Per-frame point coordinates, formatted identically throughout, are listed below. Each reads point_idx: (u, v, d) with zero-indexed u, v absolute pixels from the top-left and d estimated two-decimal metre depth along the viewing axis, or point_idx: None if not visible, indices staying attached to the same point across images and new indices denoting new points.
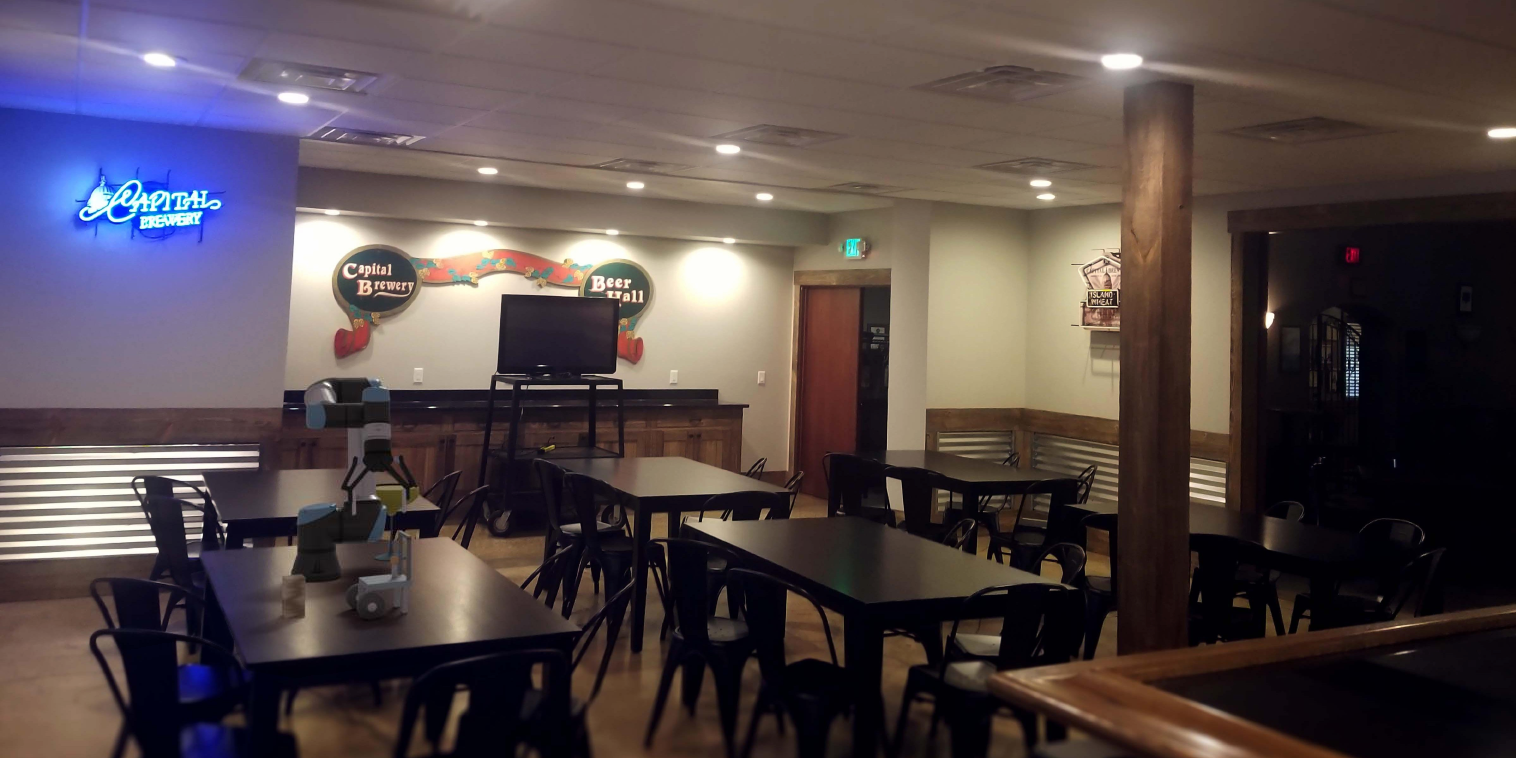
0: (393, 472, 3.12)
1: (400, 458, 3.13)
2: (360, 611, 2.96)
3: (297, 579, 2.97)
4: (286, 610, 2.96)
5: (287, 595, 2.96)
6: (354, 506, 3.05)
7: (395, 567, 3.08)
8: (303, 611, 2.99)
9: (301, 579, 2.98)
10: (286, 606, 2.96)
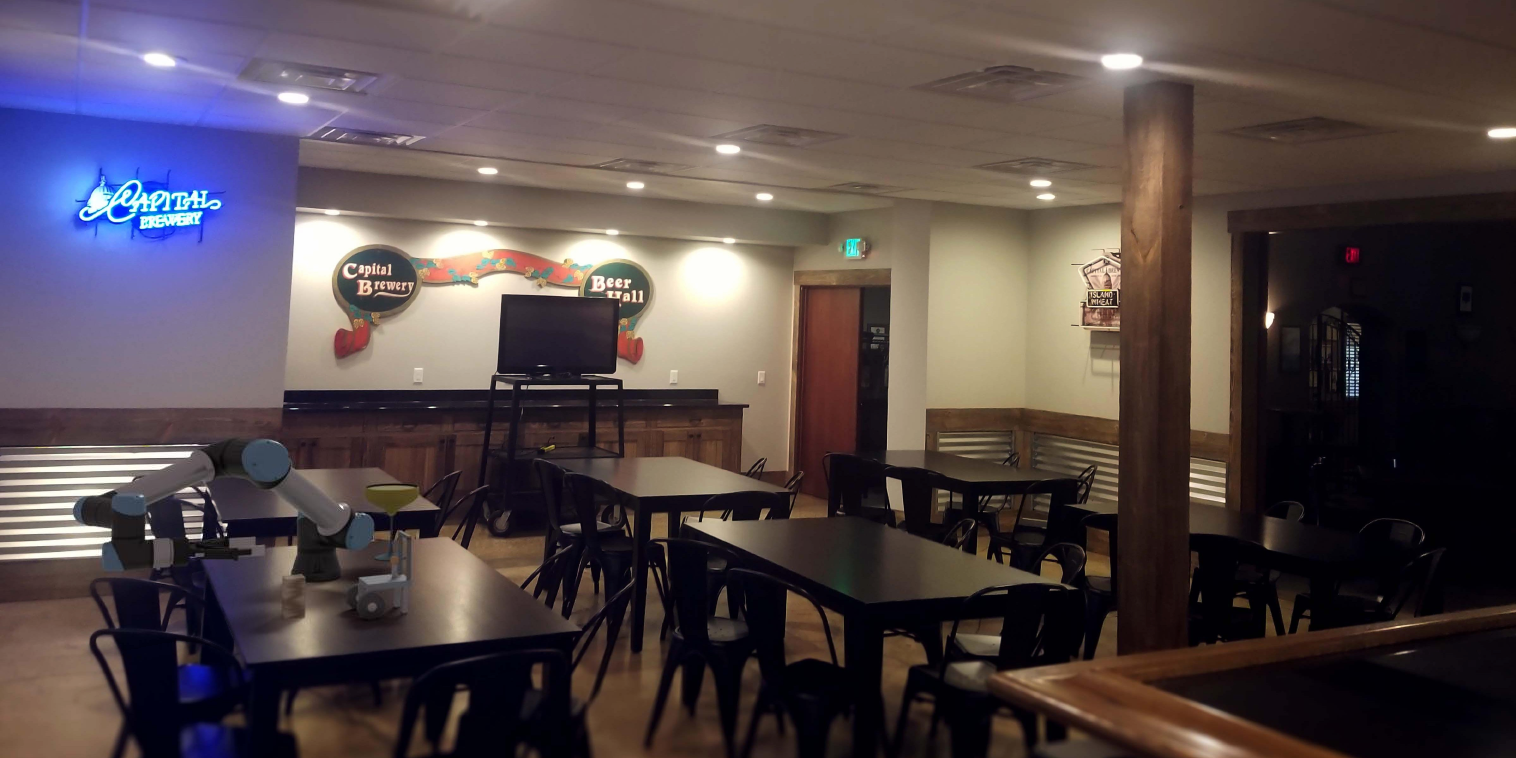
0: None
1: None
2: (360, 611, 2.96)
3: (297, 579, 2.97)
4: (286, 610, 2.96)
5: (287, 595, 2.96)
6: None
7: (395, 567, 3.08)
8: (303, 611, 2.99)
9: (301, 579, 2.98)
10: (286, 606, 2.96)
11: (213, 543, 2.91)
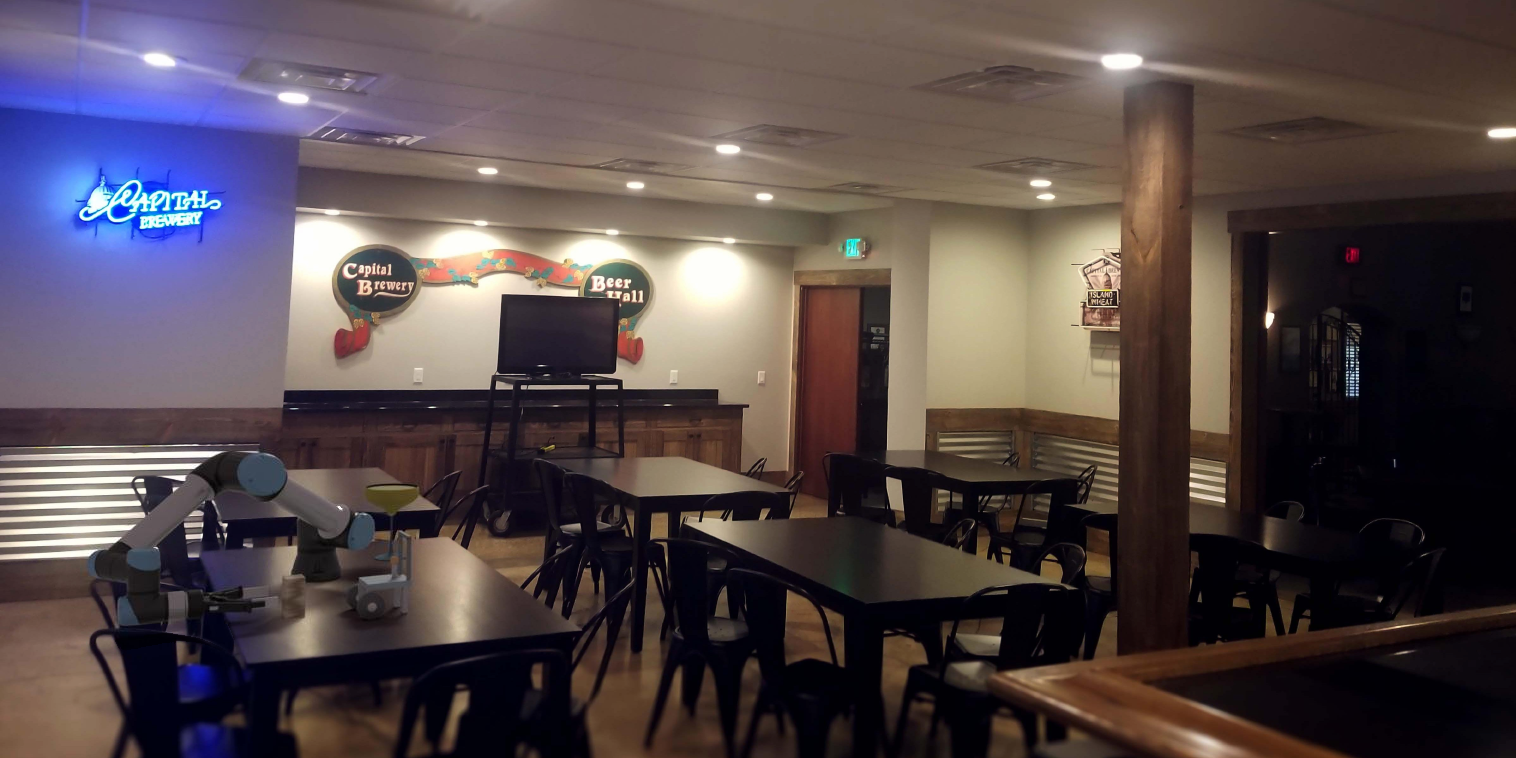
0: None
1: None
2: (360, 611, 2.96)
3: (297, 579, 2.97)
4: (286, 610, 2.96)
5: (287, 595, 2.96)
6: None
7: (395, 567, 3.08)
8: (303, 611, 2.99)
9: (301, 579, 2.98)
10: (286, 606, 2.96)
11: (227, 594, 2.93)
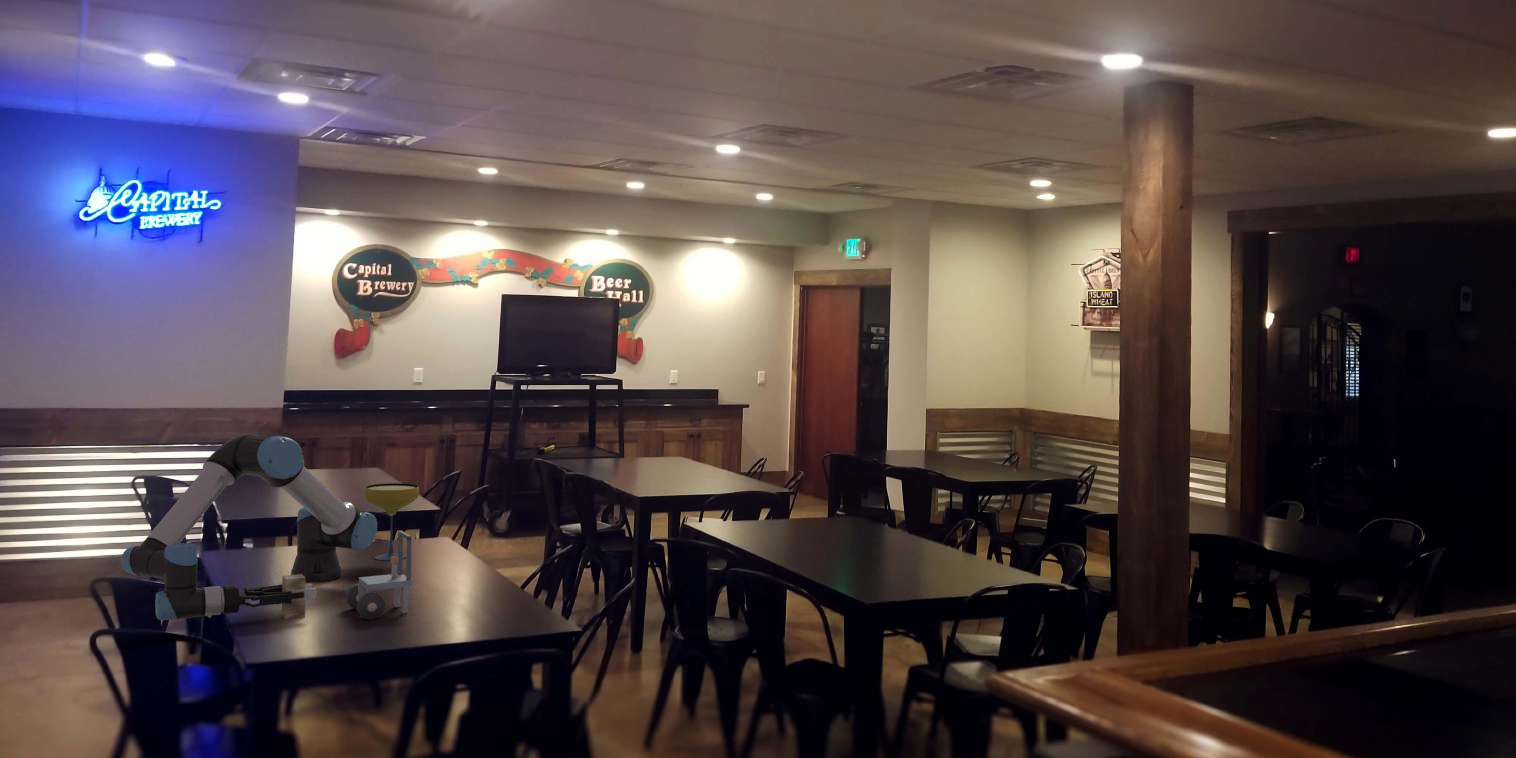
0: None
1: None
2: (360, 611, 2.96)
3: (297, 579, 2.97)
4: (286, 610, 2.96)
5: None
6: None
7: (395, 567, 3.08)
8: (303, 611, 2.99)
9: (301, 579, 2.98)
10: (286, 606, 2.96)
11: (265, 590, 2.97)
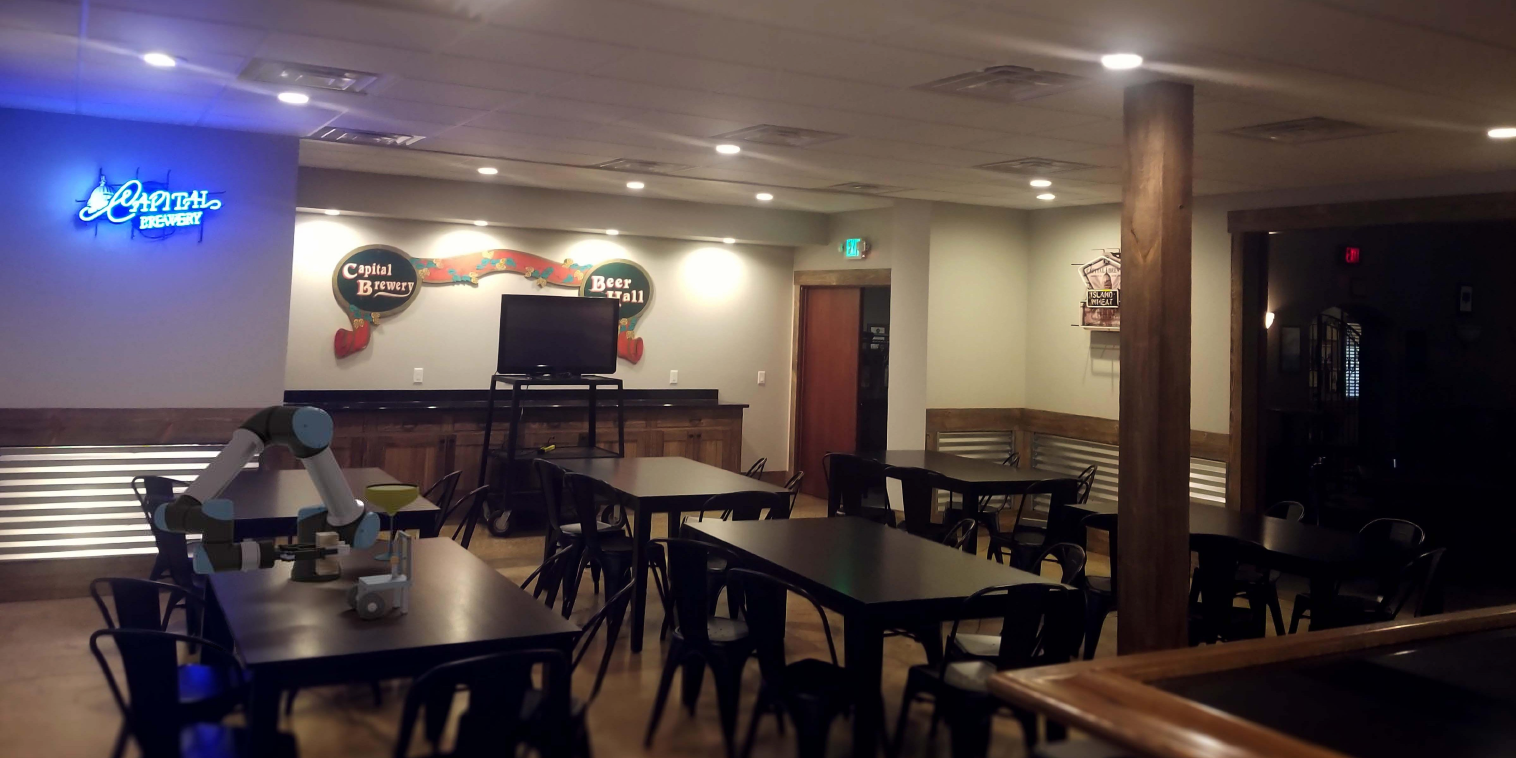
0: None
1: None
2: (360, 611, 2.96)
3: (331, 536, 3.02)
4: (320, 566, 3.01)
5: None
6: None
7: (395, 567, 3.08)
8: (336, 567, 3.03)
9: (335, 536, 3.02)
10: (320, 562, 3.01)
11: (300, 547, 3.02)
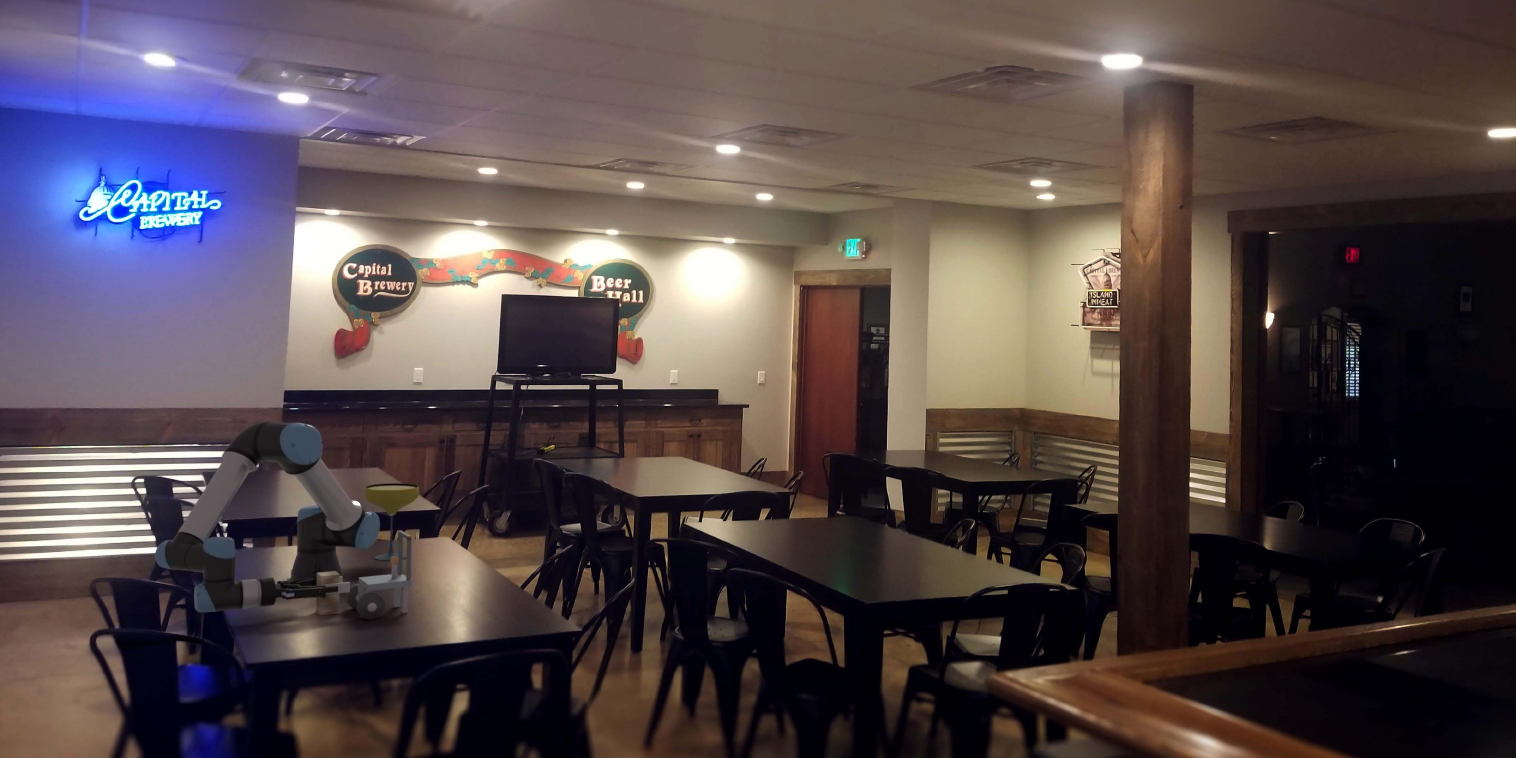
0: None
1: None
2: (360, 611, 2.96)
3: (332, 576, 3.02)
4: (321, 606, 3.01)
5: None
6: None
7: (395, 567, 3.08)
8: (337, 607, 3.04)
9: (335, 576, 3.03)
10: (321, 602, 3.01)
11: (299, 583, 3.03)
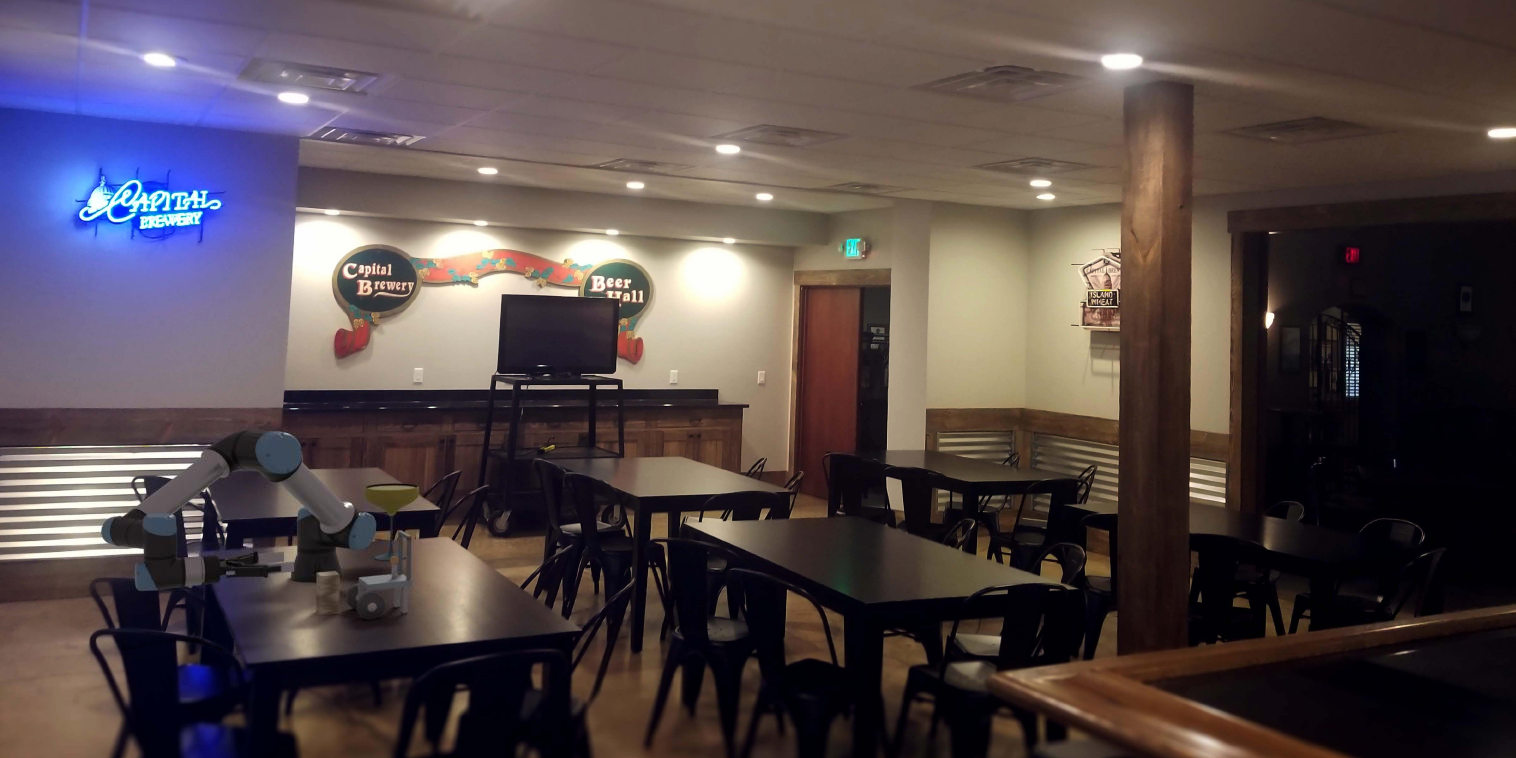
0: None
1: None
2: (360, 611, 2.96)
3: (332, 576, 3.03)
4: (321, 606, 3.01)
5: (322, 591, 3.01)
6: None
7: (395, 567, 3.08)
8: (337, 607, 3.04)
9: (335, 576, 3.03)
10: (321, 602, 3.01)
11: (243, 559, 2.95)
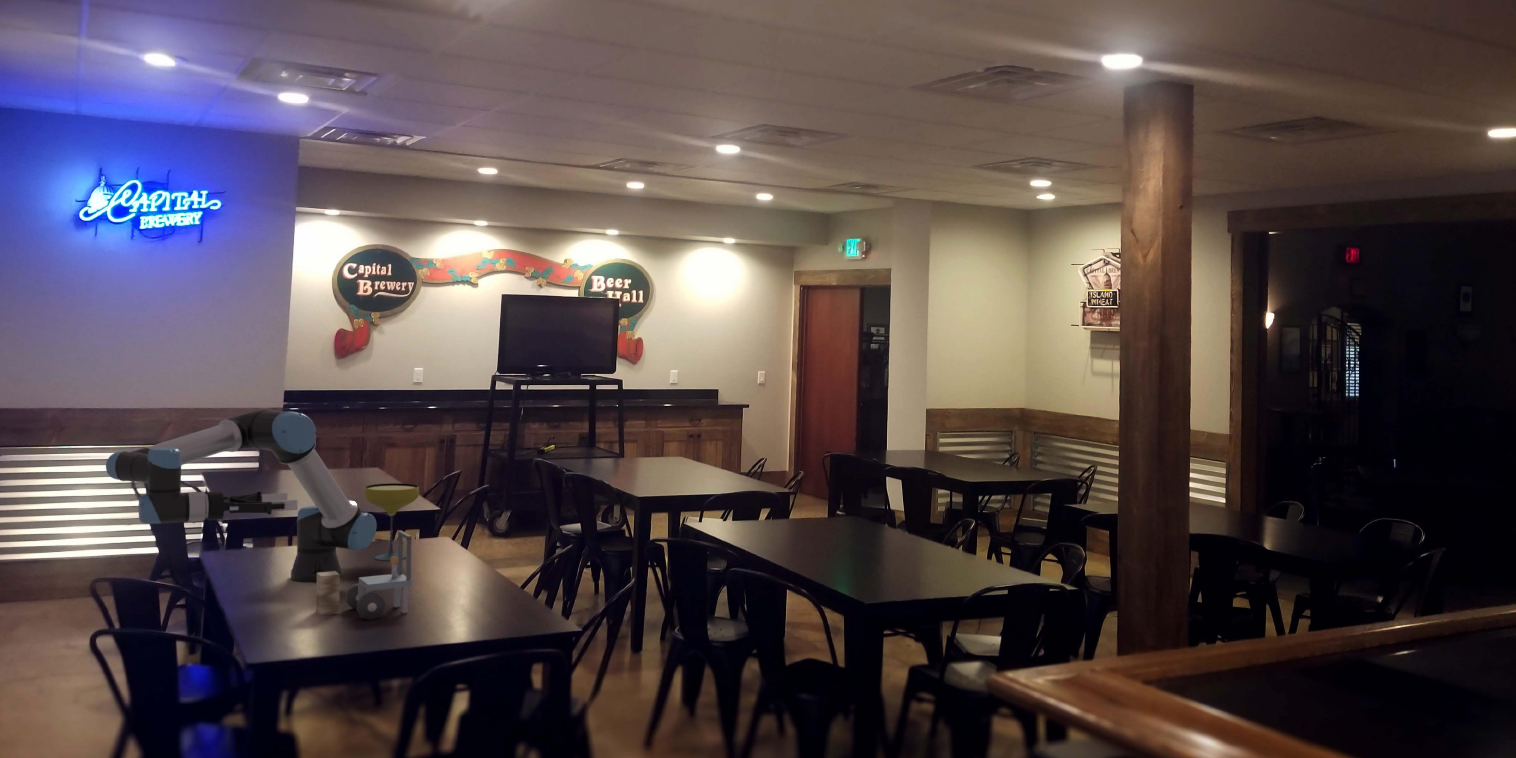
0: None
1: None
2: (360, 611, 2.96)
3: (332, 576, 3.02)
4: (321, 606, 3.01)
5: (322, 591, 3.01)
6: None
7: (395, 567, 3.08)
8: (337, 607, 3.04)
9: (335, 576, 3.03)
10: (321, 602, 3.01)
11: (246, 498, 2.95)
